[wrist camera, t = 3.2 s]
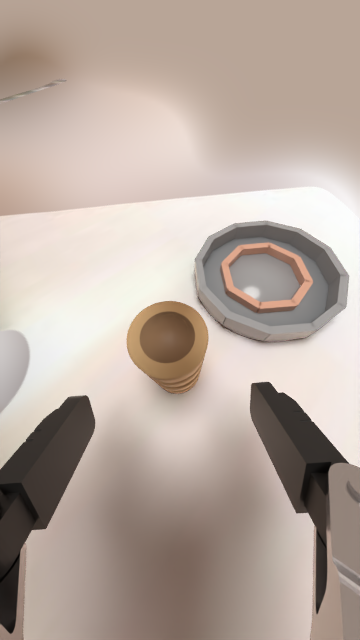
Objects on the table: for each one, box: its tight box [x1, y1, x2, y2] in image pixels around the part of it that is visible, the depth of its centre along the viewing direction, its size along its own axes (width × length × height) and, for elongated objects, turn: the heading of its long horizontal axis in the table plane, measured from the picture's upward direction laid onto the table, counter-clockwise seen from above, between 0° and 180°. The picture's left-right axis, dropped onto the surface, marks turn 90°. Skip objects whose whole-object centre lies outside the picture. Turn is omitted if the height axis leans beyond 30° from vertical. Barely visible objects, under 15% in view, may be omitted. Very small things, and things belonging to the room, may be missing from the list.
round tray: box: [195, 221, 349, 342], centre depth 21 cm, size 16×16×2 cm
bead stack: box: [127, 301, 208, 394], centre depth 14 cm, size 4×4×9 cm
